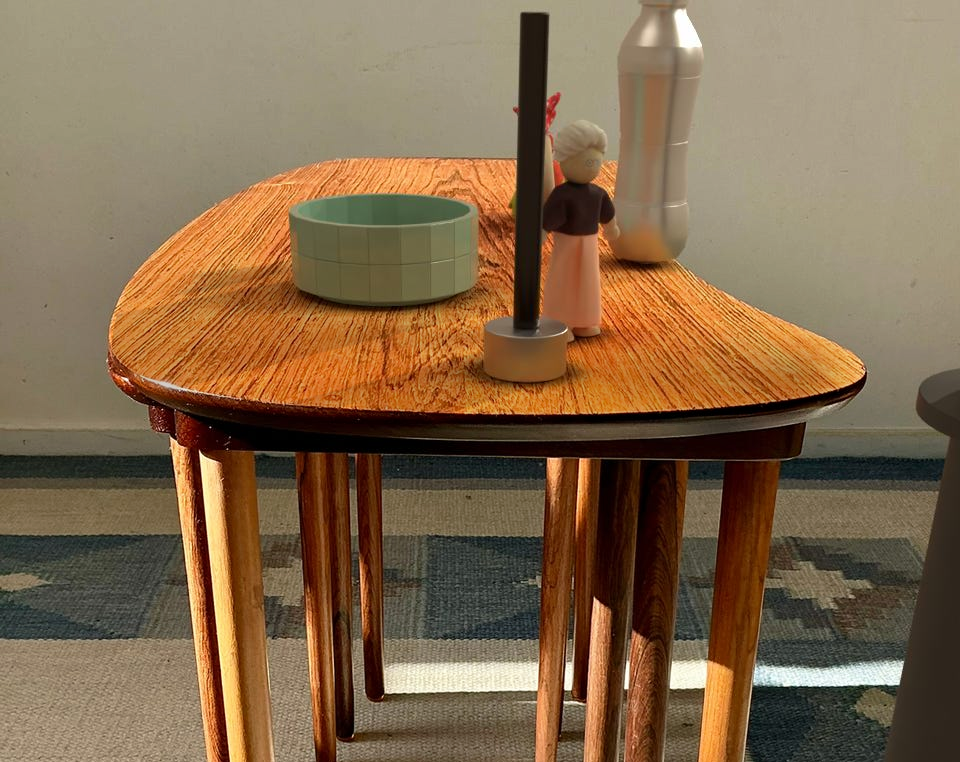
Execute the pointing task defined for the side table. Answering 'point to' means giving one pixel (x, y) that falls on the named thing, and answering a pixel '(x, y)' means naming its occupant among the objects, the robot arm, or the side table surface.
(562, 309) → the grandmother figurine
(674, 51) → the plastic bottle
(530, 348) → the paper towel stand
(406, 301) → the bowl
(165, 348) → the side table surface
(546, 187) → the bird rattle
